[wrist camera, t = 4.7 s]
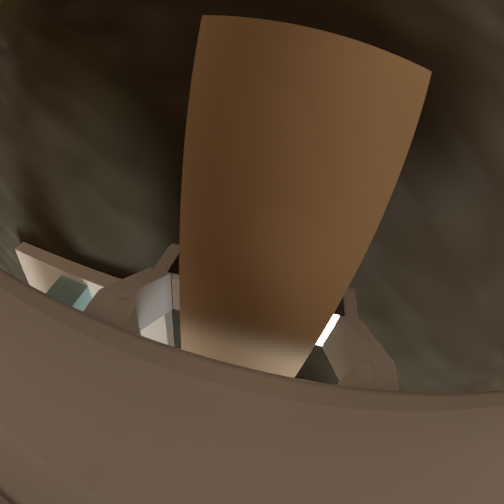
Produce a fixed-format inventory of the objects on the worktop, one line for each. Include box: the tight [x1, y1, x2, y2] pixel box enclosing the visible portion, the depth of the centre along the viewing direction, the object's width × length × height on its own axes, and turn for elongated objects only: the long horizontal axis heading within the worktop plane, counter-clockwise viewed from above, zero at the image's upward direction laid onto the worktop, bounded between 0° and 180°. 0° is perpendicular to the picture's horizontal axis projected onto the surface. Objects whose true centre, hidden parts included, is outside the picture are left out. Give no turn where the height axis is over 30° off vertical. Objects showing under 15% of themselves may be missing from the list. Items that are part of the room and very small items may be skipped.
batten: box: [179, 15, 432, 378], centre depth 10 cm, size 4×16×5 cm, turn 171°
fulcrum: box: [15, 242, 175, 347], centre depth 17 cm, size 13×13×6 cm
